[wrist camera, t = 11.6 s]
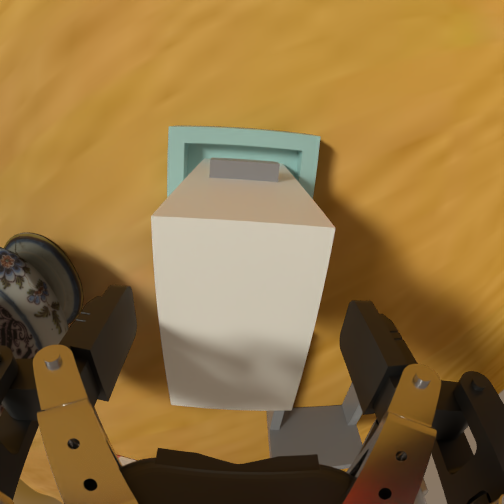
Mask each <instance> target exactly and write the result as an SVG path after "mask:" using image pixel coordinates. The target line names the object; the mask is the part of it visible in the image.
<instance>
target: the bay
mask: <svg viewBox="0 0 504 504" xmlns="http://www.w3.org/2000/svg"><path fill="white" fill-rule="evenodd" d="M362 413H363V412H362V409H361V406H360V403H359V400H358V397H357V394H356V392H355V389H354V386H353V383H352V384H351V386H350V388H349V391H348V393H347V395H346V397H345V399H344V402H343V404H342V405H336V406H321V407H300V408H292V410H284V411H267V424H268V437H269V451H270V458H273V457H278V456H296V455H312V454H317V455H318V461H319V464H322V465H327V466H331V467H334V468H337V469H344V468H350V466H351V465H352V463H353V461H354V460H355V458H356V456H357V454H358V453H359V451H360V449H361V447H362V442H361V439H360V436H359V432H358V429H357V426H356V424H357V422H358V420H359V419H360V417H361V415H362Z"/></svg>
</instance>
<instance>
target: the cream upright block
mask: <svg viewBox="0 0 504 504" xmlns="http://www.w3.org/2000/svg"><path fill="white" fill-rule="evenodd" d="M151 223H152V245H153V261H154V275H155V287H156V298H157V308H158V318H159V327H160V335H161V343H162V350H163V357H164V364H165V371H166V377H167V383H168V389H169V395H170V401H171V405H179V406H189V407H199V408H212V409H229V410H259V411H284V410H292V407H293V404H294V401H295V397H296V394H297V390H298V387H299V383H300V380H301V376H302V373H303V369H304V365H305V362H306V358H307V354H308V350H309V346H310V343H311V339H312V335H313V331H314V327H315V322H316V318H317V314H318V310H319V306H320V301H321V297H322V292H323V288H324V283H325V278H326V274H327V269H328V264H329V259H330V254H331V249H332V244H333V239H334V233H335V227H334V225H333V224H332V223H331V222H330V220H329V219H328V218H327V217H326V215H325V214H324V213H323V211H322V210H321V209H320V208H319V206H318V205H317V204H316V203H315V202H314V200H313V199H312V198H311V197H310V195H309V194H308V193H307V192H306V191H305V189H304V188H303V187H302V186H301V185H300V183H299V182H298V181H297V180H296V179H295V177H294V176H293V175H292V174H291V173H290V171H289V170H288V169H287V168H286V167H285V166H284V164H283V163H278V162H274V161H262V160H248V159H233V158H214V157H212V158H204V159H203V160H202V161H201V162H200V163H199V164H198V165H197V166H196V168H195V169H194V170H193V171H192V172H191V173H190V174H189V175H188V176H187V177H186V178H185V179H184V180H183V181H182V182H181V183H180V185H179V186H178V187H177V188H176V189H175V190H174V191H173V192H172V193H171V194H170V195H169V197H168V198H167V199H166V200H165V201H164V202H163V203H162V204H161V206H160V207H159V208H158V209H157V210H156V211H155V212H154V214H153V215H152V216H151Z"/></svg>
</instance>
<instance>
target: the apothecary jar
mask: <svg viewBox="0 0 504 504" xmlns="http://www.w3.org/2000/svg"><path fill="white" fill-rule="evenodd" d="M82 305H83V291H82V286H81V282H80V279H79V276H78V274H77V272H76V270H75V269H74V267H73V265H72V263H71V262H70V260H69V259H68V258H67V256H66V255H65V254H64V253H63V252H62V251H61V250H60V249H59V248H58V247H57V246H56V245H55V244H54V243H52V242H51V241H49V240H48V239H46V238H44V237H42V236H40V235H37V234H33V233H20V234H17V235H15V236H13V237H12V238H10V239H9V241H8V242H7V243H6V245H5V247H4V248H1V247H0V345H3V346H7V347H8V348H10V349H11V351H12V353H13V355H14V357H15V359H33V358H34V356H35V355H36V354H37V352H38V351H40V350H41V349H42V348H44V347H46V346H49V345H56V344H57V345H58V344H59V343H60V341H61V340H62V338H63V337H64V335H65V334H66V332H67V331H68V329H69V328H68V324H70V323H72V322H73V321H74V320H75V319H76V318H77V317H78V315H79V314H80V312H81V309H82ZM3 410H4V406H3V405H2V403H1V405H0V416H1V414H2V412H3Z"/></svg>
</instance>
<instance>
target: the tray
mask: <svg viewBox="0 0 504 504" xmlns="http://www.w3.org/2000/svg"><path fill="white" fill-rule="evenodd" d="M319 146H320V136H316V135H310V134H302V133H294V132H285V131H275V130H264V129H251V128H236V127H215V126H170V127H169V135H168V176H167V198H168V197H169V195H170V194H171V193H172V192H173V191H174V190H175V189H176V188H177V187H178V186H179V185H180V183H181V182H182V181H183V180H184V179H185V178H186V177H187V176H188V175H189V174H190V173H191V172H192V171H193V170H194V169H195V168H196V166H197V165H198V164H199V163H200V162H201V161H202V160H203V159H204V158H212V157H214V158H233V159H248V160H262V161H274V162H278V163H283V164H284V166H285V167H286V168H287V169H288V170H289V171H290V173H291V174H292V175H293V176H294V177H295V179H296V180H297V181H298V182H299V183H300V185H301V186H302V187H303V188H304V189H305V191H306V192H307V193H308V194H309V195H310V197H311V198H312V199H313V194H314V186H315V179H316V171H317V163H318V155H319Z"/></svg>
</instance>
